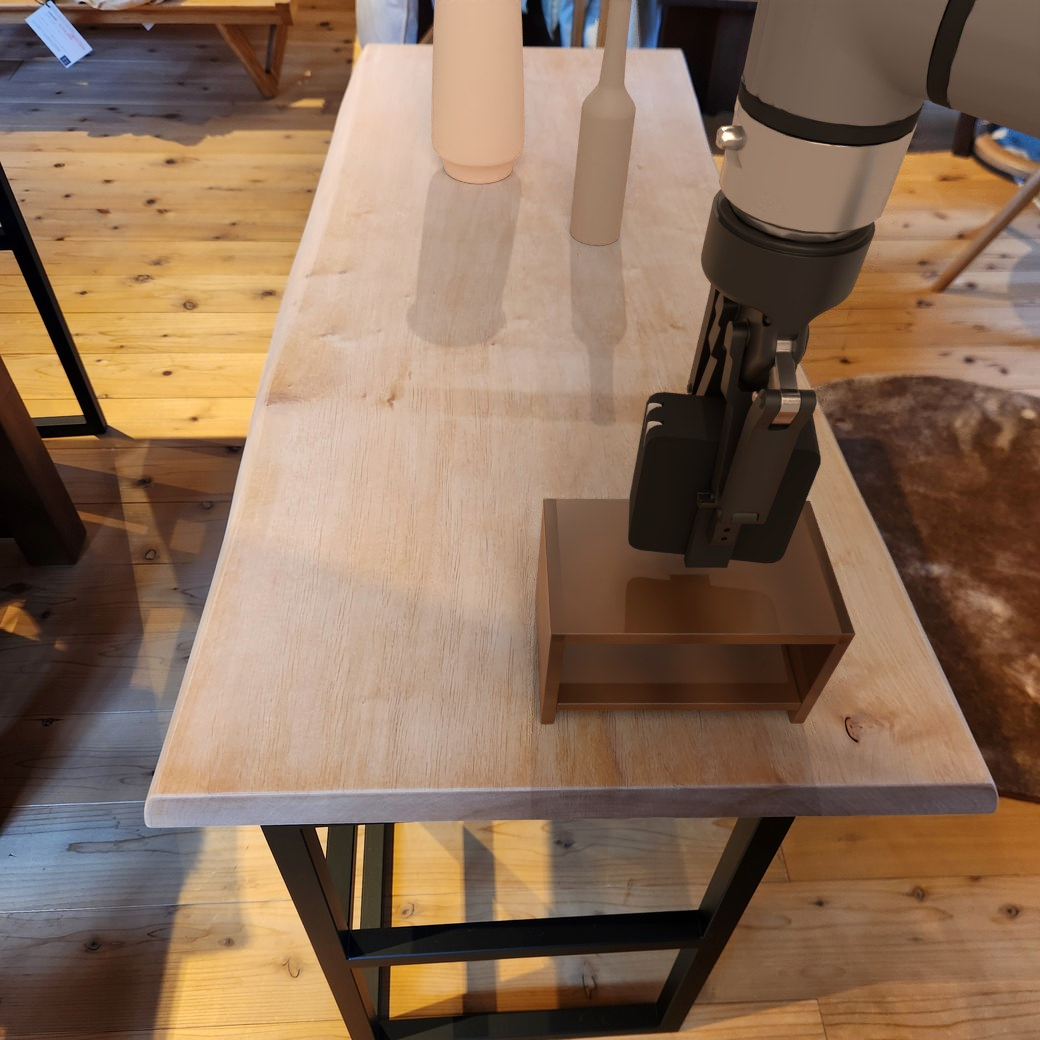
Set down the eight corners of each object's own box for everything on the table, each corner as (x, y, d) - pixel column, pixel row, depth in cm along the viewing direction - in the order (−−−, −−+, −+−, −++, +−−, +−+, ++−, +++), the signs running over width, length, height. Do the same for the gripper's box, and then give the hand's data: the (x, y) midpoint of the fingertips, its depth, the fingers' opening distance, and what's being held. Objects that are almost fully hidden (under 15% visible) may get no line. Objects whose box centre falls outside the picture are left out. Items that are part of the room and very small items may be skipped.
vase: (523, 191, 118) (532, -43, 97) (429, 188, 117) (418, -48, 97) (523, 148, 126) (531, -75, 106) (435, 145, 126) (427, -79, 105)
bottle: (571, 244, 109) (593, -1, 88) (568, 218, 113) (589, -21, 92) (622, 246, 109) (656, 2, 88) (617, 220, 113) (649, -19, 93)
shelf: (769, 596, 72) (810, 500, 63) (803, 723, 64) (856, 634, 55) (535, 595, 72) (543, 498, 63) (540, 724, 64) (550, 634, 55)
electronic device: (780, 566, 55) (825, 452, 48) (626, 549, 56) (647, 435, 48) (774, 519, 58) (816, 405, 51) (628, 504, 58) (648, 389, 51)
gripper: (686, 117, 45) (628, 440, 62) (755, 312, 33) (660, 643, 51) (826, 121, 45) (729, 441, 63) (943, 316, 34) (784, 643, 51)
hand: (698, 531), depth 57 cm, fingers closed on electronic device, 5 cm apart
